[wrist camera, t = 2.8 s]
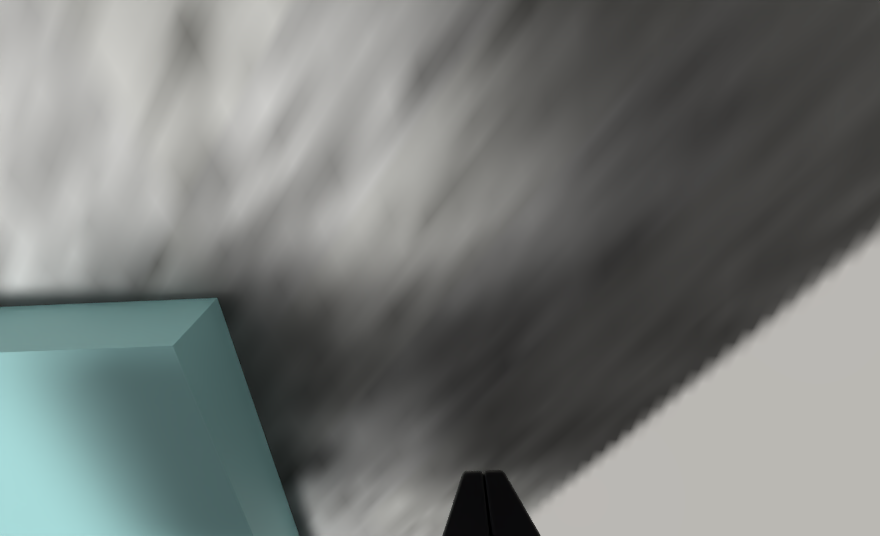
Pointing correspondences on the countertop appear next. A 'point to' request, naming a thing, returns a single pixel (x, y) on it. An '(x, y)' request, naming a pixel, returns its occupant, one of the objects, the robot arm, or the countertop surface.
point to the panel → (131, 425)
